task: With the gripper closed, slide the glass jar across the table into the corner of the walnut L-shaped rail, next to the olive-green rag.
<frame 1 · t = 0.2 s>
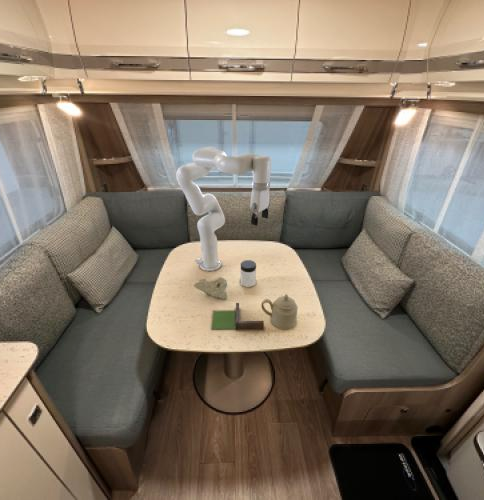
hand: (259, 221, 126), 37 cm above the table, tool pointing down, fingers open, 9 cm apart
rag: (223, 320, 121), on the table
olive irregular lumpy piece: (211, 296, 136), on the table
corner rail: (250, 319, 121), on the table
jar: (248, 282, 146), on the table
sugar bowl: (279, 321, 121), on the table
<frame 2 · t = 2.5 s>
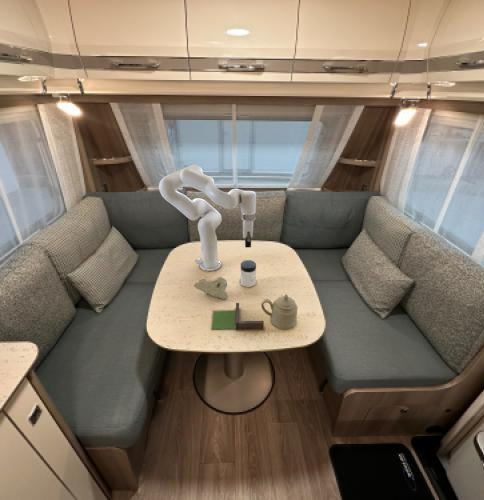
hand: (248, 246, 146), 17 cm above the table, tool pointing down, fingers closed
nothing on the table moved.
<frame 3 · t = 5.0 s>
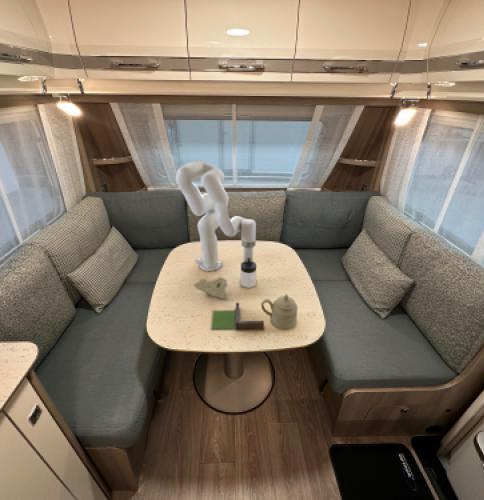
hand: (248, 270, 150), 3 cm above the table, tool pointing down, fingers closed
jar: (248, 283, 145), on the table, touching gripper
everything else where it was.
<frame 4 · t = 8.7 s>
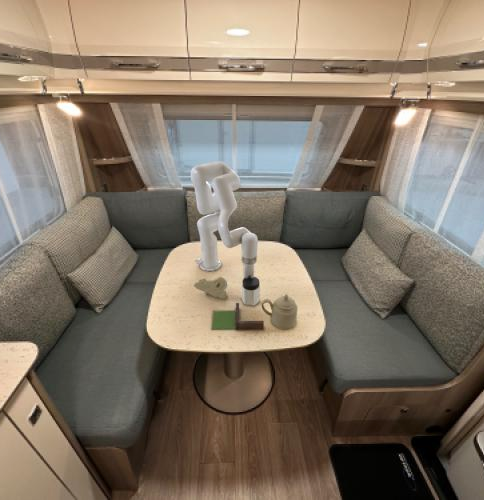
hand: (248, 287, 138), 2 cm above the table, tool pointing down, fingers closed
jar: (250, 300, 133), on the table, touching gripper
everything else where it was.
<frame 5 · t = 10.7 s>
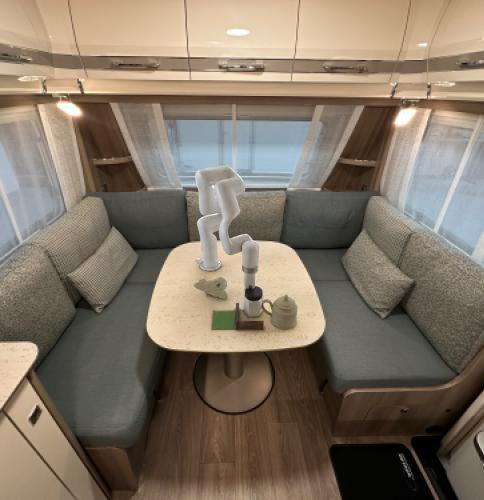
hand: (249, 297, 131), 2 cm above the table, tool pointing down, fingers closed
jar: (253, 311, 126), on the table, touching gripper
everything else where it was.
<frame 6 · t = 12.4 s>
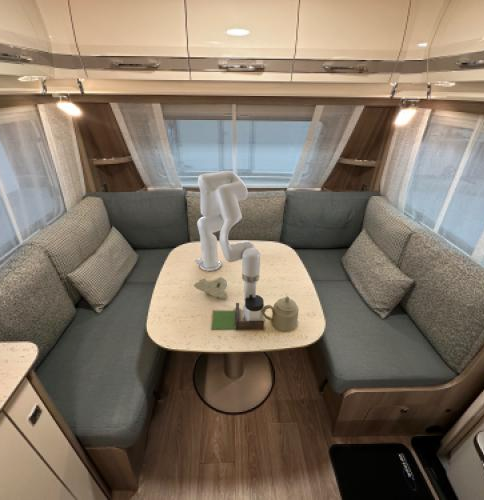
hand: (249, 306, 126), 2 cm above the table, tool pointing down, fingers closed
jar: (253, 321, 121), on the table, touching corner rail, gripper
sugar bowl: (281, 324, 119), on the table
everything else where it was.
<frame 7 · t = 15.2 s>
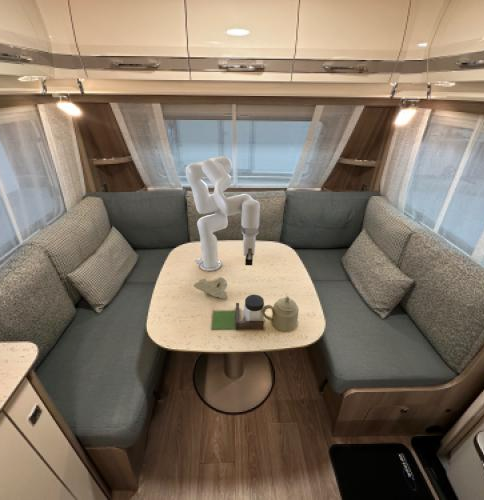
hand: (248, 264, 123), 21 cm above the table, tool pointing down, fingers closed
jar: (253, 321, 121), on the table, touching corner rail, sugar bowl
sugar bowl: (281, 324, 119), on the table, touching jar
everything else where it was.
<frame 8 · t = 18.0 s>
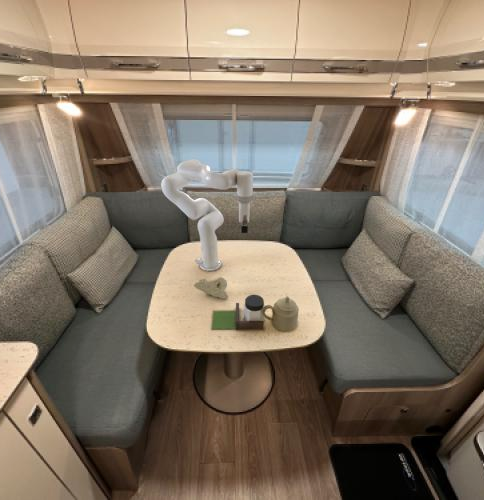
hand: (244, 232, 138), 27 cm above the table, tool pointing down, fingers closed
nothing on the table moved.
at the end: jar 1.7 cm off-centre on the corner rail, point 0.0 cm above the corner rail's base; jar tilted 0° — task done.
